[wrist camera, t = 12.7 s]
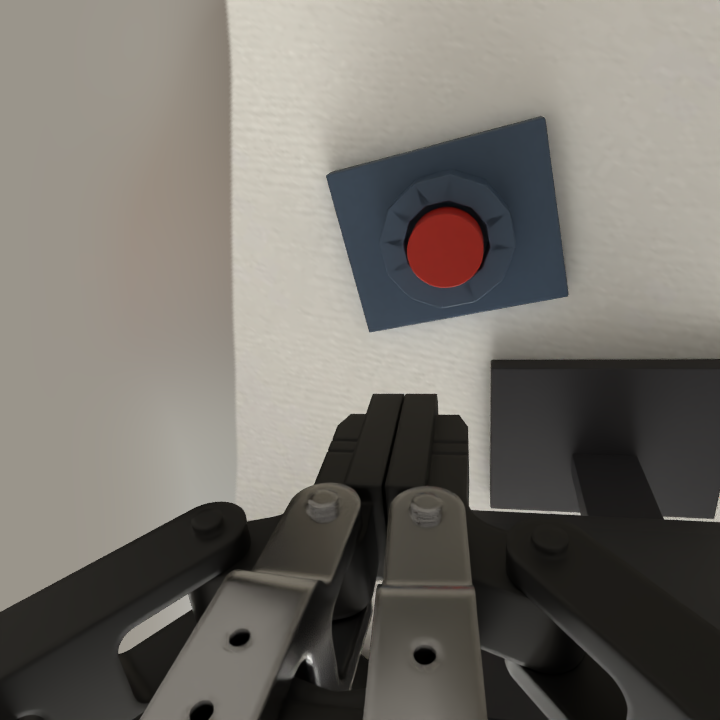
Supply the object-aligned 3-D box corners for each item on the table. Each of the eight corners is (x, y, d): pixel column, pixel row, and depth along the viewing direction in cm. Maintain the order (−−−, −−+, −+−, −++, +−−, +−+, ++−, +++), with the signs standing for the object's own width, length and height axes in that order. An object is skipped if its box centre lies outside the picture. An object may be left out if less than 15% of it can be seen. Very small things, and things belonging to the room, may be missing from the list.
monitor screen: (821, 581, 26) (1110, 911, 14) (463, 557, 29) (452, 810, 17) (833, 516, 25) (1152, 812, 13) (462, 499, 28) (450, 724, 17)
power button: (476, 198, 28) (475, 205, 26) (489, 269, 29) (489, 280, 27) (403, 215, 29) (398, 223, 27) (419, 284, 30) (415, 294, 28)
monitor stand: (707, 506, 35) (764, 612, 28) (490, 496, 38) (492, 591, 31) (737, 358, 31) (812, 439, 24) (490, 359, 34) (494, 432, 27)
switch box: (542, 115, 28) (549, 119, 25) (566, 289, 31) (574, 308, 29) (330, 172, 31) (316, 180, 28) (372, 325, 34) (363, 345, 32)
